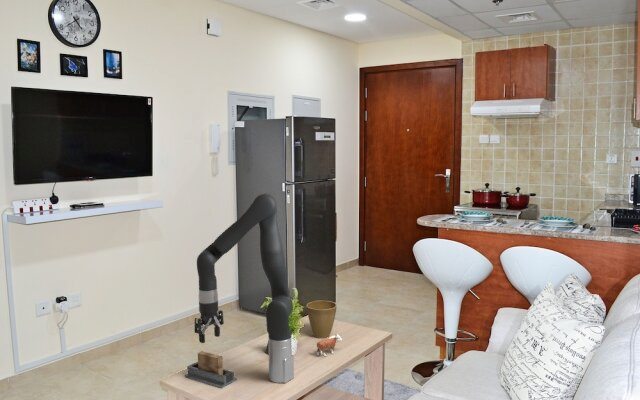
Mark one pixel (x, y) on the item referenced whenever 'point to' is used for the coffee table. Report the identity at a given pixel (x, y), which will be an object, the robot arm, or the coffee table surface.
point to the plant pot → (321, 317)
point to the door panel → (210, 362)
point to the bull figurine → (328, 344)
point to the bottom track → (210, 376)
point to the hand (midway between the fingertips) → (209, 339)
